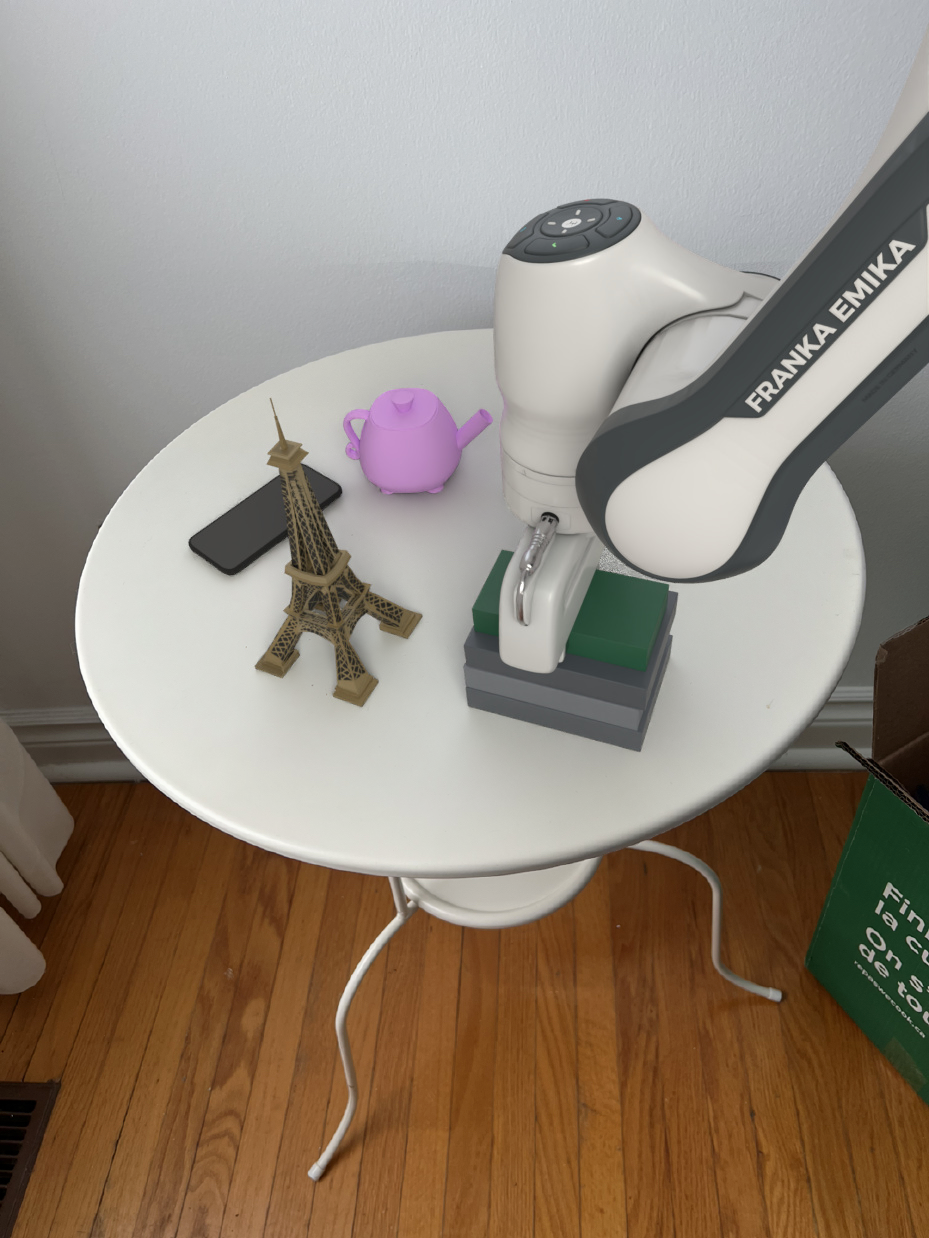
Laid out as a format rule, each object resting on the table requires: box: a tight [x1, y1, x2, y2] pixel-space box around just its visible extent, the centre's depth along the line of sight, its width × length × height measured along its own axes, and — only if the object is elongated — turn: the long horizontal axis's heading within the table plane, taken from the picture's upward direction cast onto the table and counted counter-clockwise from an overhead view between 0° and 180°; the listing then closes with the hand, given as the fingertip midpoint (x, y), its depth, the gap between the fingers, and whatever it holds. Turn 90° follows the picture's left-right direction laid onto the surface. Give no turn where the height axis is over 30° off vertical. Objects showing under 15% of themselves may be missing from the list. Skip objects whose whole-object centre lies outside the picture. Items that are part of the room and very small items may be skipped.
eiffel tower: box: [254, 397, 423, 708], centre depth 70 cm, size 11×11×25 cm
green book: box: [471, 549, 670, 672], centre depth 68 cm, size 13×6×2 cm, turn 69°
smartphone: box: [187, 462, 343, 576], centre depth 90 cm, size 7×1×15 cm
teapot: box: [342, 387, 494, 495], centre depth 90 cm, size 10×15×9 cm
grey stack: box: [462, 590, 679, 753], centre depth 72 cm, size 14×10×8 cm
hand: (570, 614), depth 68 cm, fingers closed on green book, 6 cm apart
